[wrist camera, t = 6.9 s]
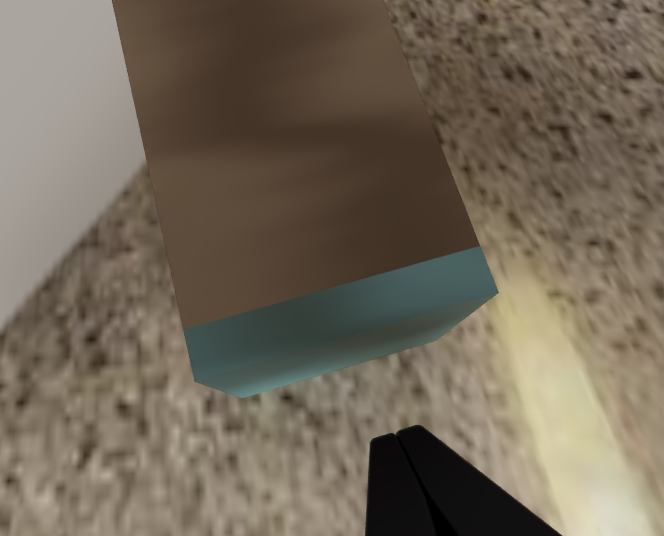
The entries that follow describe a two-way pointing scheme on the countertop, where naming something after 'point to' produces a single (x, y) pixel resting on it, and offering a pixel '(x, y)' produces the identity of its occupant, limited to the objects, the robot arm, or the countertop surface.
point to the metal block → (296, 187)
